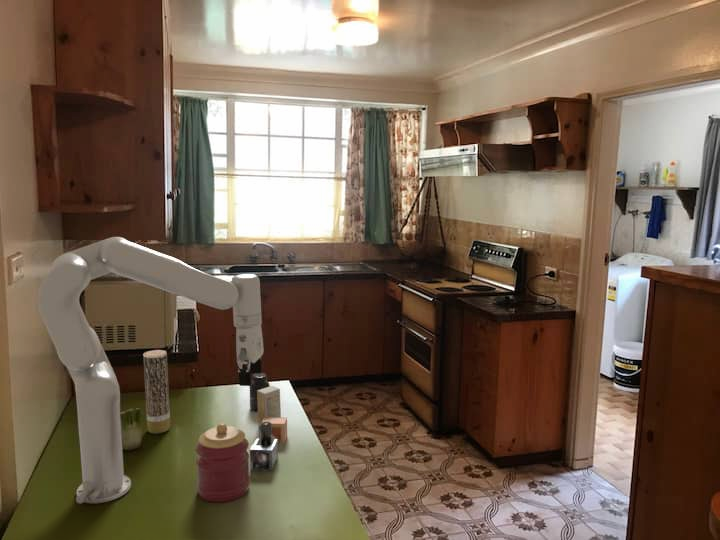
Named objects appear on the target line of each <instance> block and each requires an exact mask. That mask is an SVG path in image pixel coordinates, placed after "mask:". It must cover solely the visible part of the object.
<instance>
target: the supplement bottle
mask: <svg viewBox="0 0 720 540" xmlns="http://www.w3.org/2000/svg"><path fill="white" fill-rule="evenodd" d="M267 376H268V375H267V374H266V373H265V372H261V373H252V375H251V385H250V386H249V407H250V410H251V411H253V412H257V413H258V402H257V390H260V389H263V388H266V387H269V386H271V385H270V383H269V381H268V377H267Z"/></svg>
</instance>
